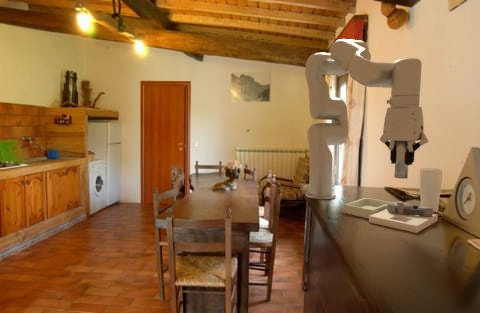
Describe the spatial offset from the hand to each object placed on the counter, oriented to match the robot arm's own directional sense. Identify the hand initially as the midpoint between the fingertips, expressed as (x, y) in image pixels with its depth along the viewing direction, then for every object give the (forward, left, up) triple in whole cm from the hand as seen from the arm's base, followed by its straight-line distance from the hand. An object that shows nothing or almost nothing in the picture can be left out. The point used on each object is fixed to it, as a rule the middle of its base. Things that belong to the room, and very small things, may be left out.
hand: (401, 163), depth 96 cm
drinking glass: (0, +24, -19) cm, 31 cm away
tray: (-14, +7, -19) cm, 24 cm away
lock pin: (0, 0, -4) cm, 4 cm away
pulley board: (-1, +4, -19) cm, 19 cm away
